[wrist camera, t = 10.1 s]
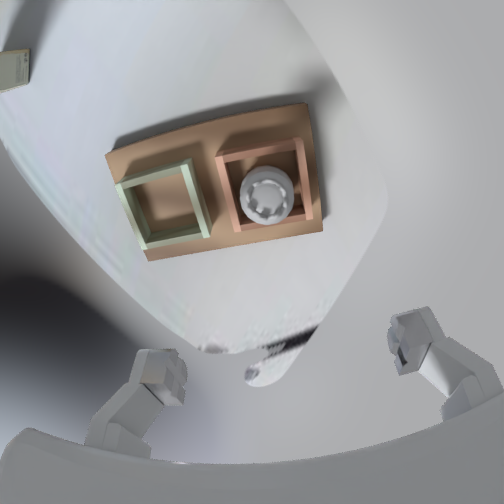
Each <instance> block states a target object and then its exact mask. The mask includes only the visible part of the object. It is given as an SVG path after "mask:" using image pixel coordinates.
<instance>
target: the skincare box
mask: <svg viewBox="0 0 504 504" xmlns="http://www.w3.org/2000/svg"><path fill="white" fill-rule="evenodd" d="M29 52H30V49H20V50H11V51H4V52H0V93H3V92H6V91H9V90H12V89H15V88H18V87H21V86H24V85H27V84H28V75H29Z"/></svg>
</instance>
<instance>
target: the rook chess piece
mask: <svg viewBox="0 0 504 504" xmlns="http://www.w3.org/2000/svg"><path fill="white" fill-rule="evenodd" d="M240 202H241V207H242V209H243V211H244V212H245V214H246V215H247V217H248V218H250V219H251V220H253V221H254V222H256V223H259V224H264V225H270V224H276V223H278V222H280V221H282V220H283V219H285V218H286V217H287V216H288V214H289V213H290V211H291V210H292V207H293V203H294V189H293V184H292V181H291V179H290V178H289V176H288V175H287V173H286V172H284V171H283V170H281V169H280V168H278V167H275V166H270V165H264V166H258V167H256V168H254V169H253V170H251V171H249V172H248V173H247V175H246V176H245V178H244V179H243V180H242V184H241V189H240Z"/></svg>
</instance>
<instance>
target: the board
mask: <svg viewBox="0 0 504 504" xmlns="http://www.w3.org/2000/svg"><path fill="white" fill-rule="evenodd" d="M105 157H106V160H107V163H108V166H109V169H110V171H111V174H112V177H113V179H114V182H115V187H116V190H117V193H118V195H119V198H120V200H121V203H122V205H123V207H124V210H125V212H126V215H127V217H128V219H129V222H130V224H131V226H132V229H133V231H134V233H135V235H136V238H137V240H138V242H139V244H140V247H141V249H142V250H143V251H144V253H145V255H146V257H147V259H148V261H154V260H159V259H165V258H170V257H176V256H182V255H187V254H193V253H199V252H204V251H210V250H216V249H221V248H227V247H233V246H239V245H244V244H250V243H256V242H262V241H268V240H274V239H279V238H285V237H291V236H297V235H303V234H309V233H315V232H321V231H323V224H322V213H321V203H320V193H319V184H318V175H317V167H316V159H315V151H314V144H313V137H312V130H311V124H310V117H309V111H308V105H307V104H306V103H298V104H290V105H283V106H277V107H271V108H265V109H259V110H254V111H249V112H244V113H239V114H234V115H229V116H225V117H220V118H216V119H212V120H208V121H204V122H200V123H196V124H192V125H189V126H185V127H181V128H178V129H174V130H171V131H168V132H164V133H161V134H158V135H155V136H152V137H149V138H145V139H142V140H140V141H137V142H134V143H131V144H128V145H125V146H123V147H120V148H117V149H114V150H112V151H110V152H109V153H107V154H105ZM264 165H270V166H275V167H278V168H280V169H281V170H283V171H284V172H286V173H287V175H288V176H289V178H290V179H291V181H292V184H293V189H294V203H293V207H292V210H291V211H290V213H289V214H288V216H287V217H286V218H285V219H283V220H282V221H280V222H278V223H276V224H270V225H264V224H259V223H256V222H254V221H253V220H251V219H250V218H248V217H247V215H246V214H245V212H244V211H243V209H242V207H241V202H240V189H241V184H242V180H243V179H244V178H245V176H246V175H247V173H248V172H249V171H251V170H253V169H254V168H256V167H258V166H264Z"/></svg>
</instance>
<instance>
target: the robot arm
mask: <svg viewBox="0 0 504 504" xmlns="http://www.w3.org/2000/svg"><path fill="white" fill-rule="evenodd" d="M390 323H391V325H392V327H390V328H389V329H388V335H387V338H388V345H389V349H390V352H391V353H392V354H394V355H395V356H396V358H395V361H394V363H395V366H396V368H397V371H398V374H399V375H404V374H407V373H411V372H414V371H418V370H419V372H420V373H421V374H422V375H423V376H424V377H425V378H427V379H428V380H429V381H430V382H431V383H432V384H433V385H434V386H436V387H437V388H438V389H439V390H440V391H441V392H442V393H443V394H444V395H446V396H447V397H448V400H447V401H446V402H445V403H444V405H443V406H442V407H441V409H440V412H441V415H442V418H443V422H442V423H440V424H437V425H435V426H432V427H429V428H427V429H424V430H421V431H419V432H416V433H413V434H410V435H407V436H404V437H401V438H398V439H394V440H391V441H388V442H384V443H381V444H377V445H374V446H369V447H365V448H361V449H357V450H353V451H348V452H344V453H338V454H333V455H327V456H321V457H315V458H309V459H301V460H293V461H282V462H272V463H253V464H204V463H186V462H175V461H165V460H157V459H150V454H151V446H150V445H149V444H148V443H146V442H144V441H143V440H142V439H141V438H142V437H143V436H144V434H145V433H146V432H147V430H148V429H149V427H150V426H151V425H152V423H153V422H154V421H155V419H156V418H157V416H158V415H159V414H160V412H161V411H162V410H163V408H164V405H183V404H184V397H185V390H184V388H183V385H184V384H185V383H186V382H187V377H188V376H187V375H188V374H187V367H186V364H185V362H184V361H183V360H182V359H180V358H179V357H178V354H179V353H178V352H177V350H176V349H142V350H141V349H140V350H139V351H138V352H137V355H136V358H135V362H134V365H133V369H132V372H131V375H130V379H129V383H125V384H124V385H123V386H122V387H121V388H120V389H119V390H118V391H117V392H116V393H115V394H114V395H113V397H112V398H110V400H109V401H108V402H107V403H106V404H105V405H104V406H103V407H102V408H101V409H100V410H99V411H98V412H97V413H96V414H95V415H94V416H93V417H92V418H91V421H90V424H89V428H88V432H87V436H86V440H85V443H84V445H82V444H78V443H75V442H71V441H68V440H64V439H62V438H58V437H56V436H53V435H50V434H47V433H44V432H41V431H38V430H36V429H34V428H25V429H24V430H22V431H21V432H20V433H19V434H18V435H16V437H14V438H13V439H12V440H11V441H10V442H9V443H8V444H7V446H6V448H5V450H4V452H3V454H2V457H1V460H0V504H504V389H503V387H502V385H501V382H500V380H499V378H498V376H497V374H496V372H495V370H494V367H493V365H492V364H491V363H489V362H487V361H486V360H484V359H483V358H481V357H480V356H478V355H477V354H475V353H474V352H472V351H470V350H469V349H467V348H466V347H464V346H463V345H461V344H459V343H458V342H457V341H455V340H453V339H452V338H450V337H448V338H446V336H445V335H444V333H443V331H442V329H441V327H440V325H439V323H438V321H437V320H436V318H435V316H434V314H433V312H432V311H431V309H430V308H429V307H428V306H426V307H422V308H419V309H414V310H411V311H407V312H403V313H399V314H395V315H393V316H392V317H391V320H390Z"/></svg>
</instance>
